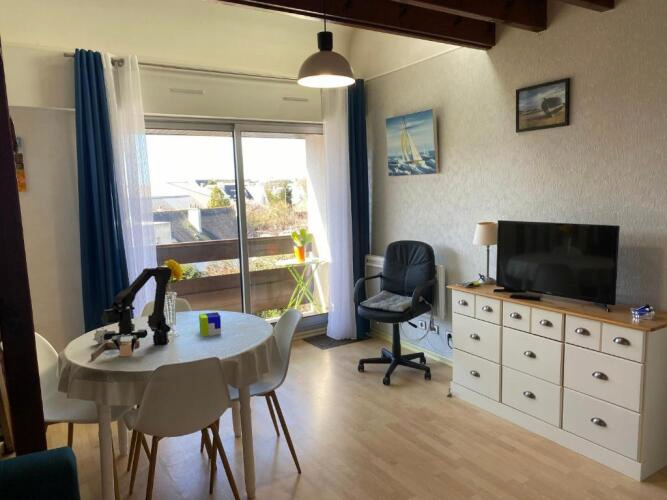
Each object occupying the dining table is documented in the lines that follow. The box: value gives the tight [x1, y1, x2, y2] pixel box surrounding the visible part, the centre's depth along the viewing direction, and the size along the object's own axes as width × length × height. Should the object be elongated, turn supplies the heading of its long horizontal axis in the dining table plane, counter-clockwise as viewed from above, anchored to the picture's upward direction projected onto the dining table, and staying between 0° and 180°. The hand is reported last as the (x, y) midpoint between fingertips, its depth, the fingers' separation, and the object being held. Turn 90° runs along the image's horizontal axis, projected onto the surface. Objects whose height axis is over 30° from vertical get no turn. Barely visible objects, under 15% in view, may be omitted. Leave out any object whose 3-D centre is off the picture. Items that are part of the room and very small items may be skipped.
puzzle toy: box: [198, 311, 222, 337], centre depth 272 cm, size 10×10×10 cm
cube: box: [119, 342, 135, 357], centre depth 238 cm, size 5×5×5 cm
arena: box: [90, 339, 141, 361], centre depth 240 cm, size 17×19×3 cm
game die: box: [92, 327, 110, 345], centre depth 255 cm, size 9×8×10 cm
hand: (126, 352), depth 238 cm, fingers closed on cube, 5 cm apart
